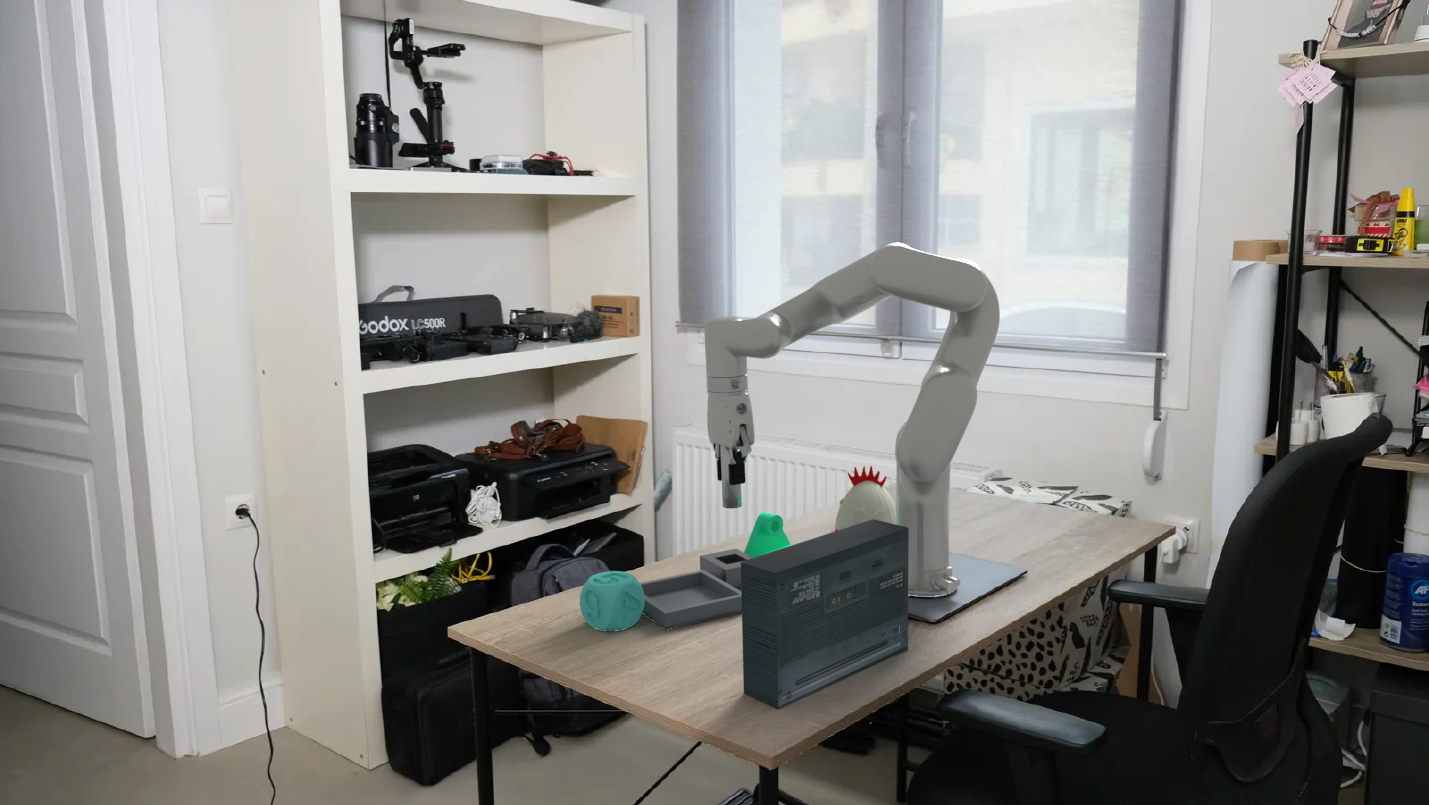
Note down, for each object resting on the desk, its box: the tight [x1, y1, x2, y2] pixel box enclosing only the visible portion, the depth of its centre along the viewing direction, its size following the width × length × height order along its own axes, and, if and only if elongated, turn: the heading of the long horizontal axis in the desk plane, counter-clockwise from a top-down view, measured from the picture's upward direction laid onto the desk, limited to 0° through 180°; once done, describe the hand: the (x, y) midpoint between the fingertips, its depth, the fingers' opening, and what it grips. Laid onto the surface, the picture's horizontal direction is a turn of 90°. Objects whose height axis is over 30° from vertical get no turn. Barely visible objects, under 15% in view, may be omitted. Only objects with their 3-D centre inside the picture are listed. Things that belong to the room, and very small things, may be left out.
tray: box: [639, 569, 742, 631], centre depth 189 cm, size 16×16×3 cm
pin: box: [720, 443, 743, 509], centre depth 200 cm, size 4×4×13 cm
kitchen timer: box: [834, 465, 896, 532], centre depth 228 cm, size 14×14×15 cm
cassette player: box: [740, 519, 909, 710], centre depth 160 cm, size 29×7×20 cm, turn 132°
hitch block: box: [699, 548, 754, 589], centre depth 203 cm, size 10×8×4 cm
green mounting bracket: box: [743, 511, 793, 557], centre depth 210 cm, size 12×8×10 cm, turn 132°
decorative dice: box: [579, 570, 645, 632], centre depth 182 cm, size 8×8×8 cm
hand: (731, 480), depth 200 cm, fingers closed on pin, 3 cm apart
